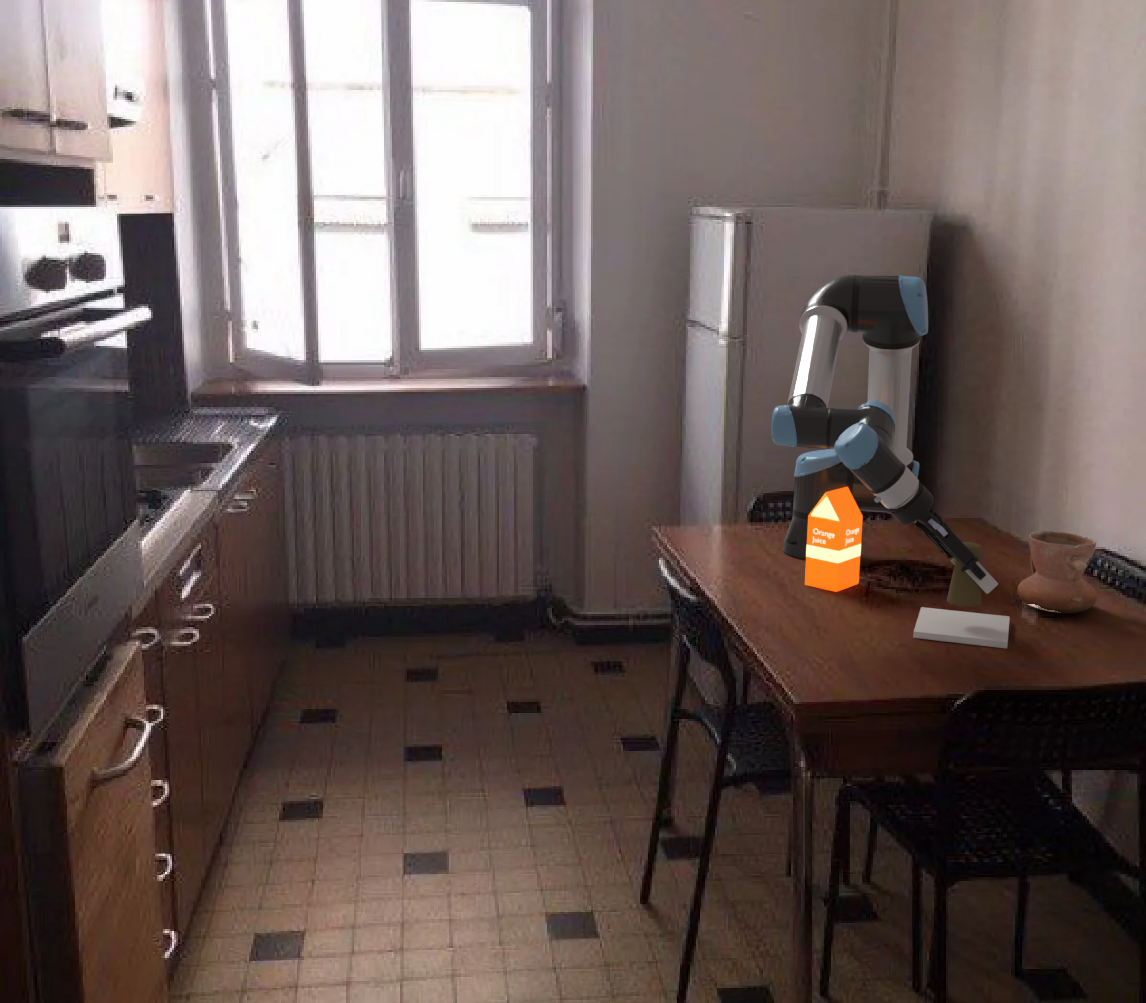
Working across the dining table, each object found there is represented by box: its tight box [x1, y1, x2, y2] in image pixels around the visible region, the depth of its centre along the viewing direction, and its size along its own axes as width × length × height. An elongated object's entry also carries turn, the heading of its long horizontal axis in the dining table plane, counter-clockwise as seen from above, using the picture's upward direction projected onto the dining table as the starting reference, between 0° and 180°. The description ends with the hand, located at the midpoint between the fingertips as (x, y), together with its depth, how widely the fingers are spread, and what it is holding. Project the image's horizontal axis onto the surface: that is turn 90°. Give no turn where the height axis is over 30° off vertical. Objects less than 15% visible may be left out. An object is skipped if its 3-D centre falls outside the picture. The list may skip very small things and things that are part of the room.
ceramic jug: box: [1017, 530, 1098, 615], centre depth 243 cm, size 18×14×14 cm
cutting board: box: [912, 606, 1011, 649], centre depth 230 cm, size 16×16×1 cm
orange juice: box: [804, 487, 864, 593], centre depth 257 cm, size 8×9×20 cm
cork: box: [946, 541, 984, 608], centre depth 227 cm, size 6×6×11 cm
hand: (985, 583), depth 228 cm, fingers closed on cork, 5 cm apart
